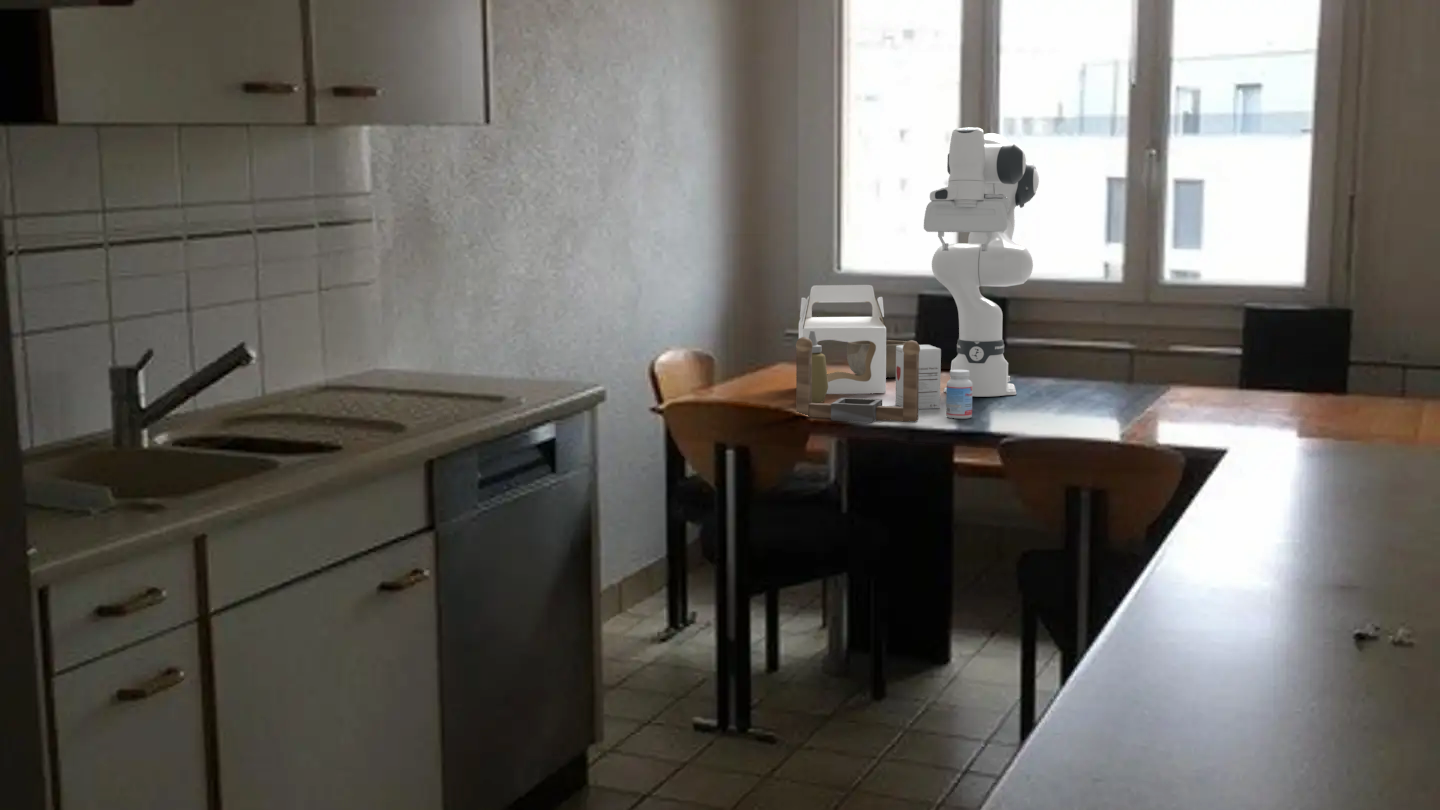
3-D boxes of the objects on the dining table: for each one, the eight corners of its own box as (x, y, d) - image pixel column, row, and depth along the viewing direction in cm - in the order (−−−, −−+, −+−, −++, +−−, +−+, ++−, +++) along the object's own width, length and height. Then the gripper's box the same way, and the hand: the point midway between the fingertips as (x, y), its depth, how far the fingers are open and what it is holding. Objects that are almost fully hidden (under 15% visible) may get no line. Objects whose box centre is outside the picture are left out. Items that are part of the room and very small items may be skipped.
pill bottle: (971, 419, 401) (972, 372, 399) (945, 419, 402) (945, 372, 400) (972, 415, 407) (973, 369, 405) (947, 415, 408) (947, 368, 406)
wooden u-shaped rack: (801, 412, 413) (801, 334, 411) (923, 417, 404) (924, 338, 401) (790, 418, 404) (790, 339, 401) (914, 424, 395) (915, 342, 392)
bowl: (877, 371, 489) (877, 336, 487) (922, 377, 475) (922, 341, 473) (833, 376, 478) (833, 341, 476) (878, 383, 464) (878, 346, 463)
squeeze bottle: (831, 400, 433) (832, 330, 430) (823, 404, 425) (823, 333, 422) (801, 399, 435) (801, 329, 432) (792, 403, 428) (792, 332, 425)
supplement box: (894, 404, 425) (894, 345, 423) (928, 403, 427) (929, 344, 425) (906, 410, 416) (906, 349, 414) (940, 408, 418) (941, 348, 416)
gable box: (880, 386, 457) (880, 282, 453) (886, 393, 444) (887, 286, 440) (797, 387, 456) (797, 283, 452) (801, 394, 443) (801, 287, 439)
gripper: (1009, 195, 414) (1008, 252, 415) (925, 194, 418) (924, 251, 418) (1009, 193, 408) (1008, 250, 408) (923, 192, 411) (922, 250, 412)
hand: (964, 251), depth 413 cm, fingers open, 8 cm apart
